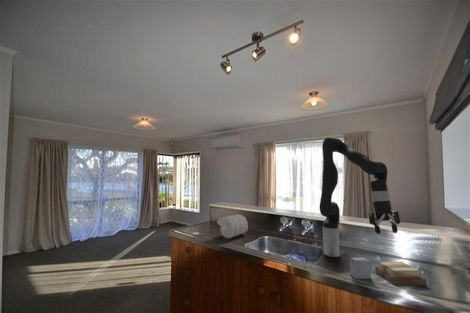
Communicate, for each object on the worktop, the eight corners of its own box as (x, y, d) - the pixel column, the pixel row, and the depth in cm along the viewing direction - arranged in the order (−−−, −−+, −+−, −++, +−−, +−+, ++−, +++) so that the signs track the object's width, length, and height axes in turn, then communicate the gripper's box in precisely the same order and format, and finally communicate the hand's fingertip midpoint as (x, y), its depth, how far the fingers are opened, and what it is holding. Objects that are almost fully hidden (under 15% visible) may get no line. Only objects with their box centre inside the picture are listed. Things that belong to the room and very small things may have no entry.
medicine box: (365, 275, 106) (364, 257, 107) (371, 279, 102) (370, 260, 103) (350, 275, 106) (349, 257, 107) (355, 279, 102) (354, 260, 102)
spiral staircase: (245, 238, 181) (227, 244, 161) (231, 227, 191) (212, 231, 172) (254, 220, 178) (236, 224, 158) (239, 209, 189) (220, 211, 169)
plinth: (375, 272, 109) (374, 260, 110) (401, 272, 110) (400, 260, 110) (396, 286, 95) (395, 272, 96) (426, 286, 96) (425, 272, 96)
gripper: (388, 199, 112) (394, 231, 108) (363, 200, 111) (367, 232, 108) (400, 199, 104) (406, 233, 101) (372, 200, 104) (378, 235, 100)
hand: (386, 233), depth 104 cm, fingers open, 8 cm apart
